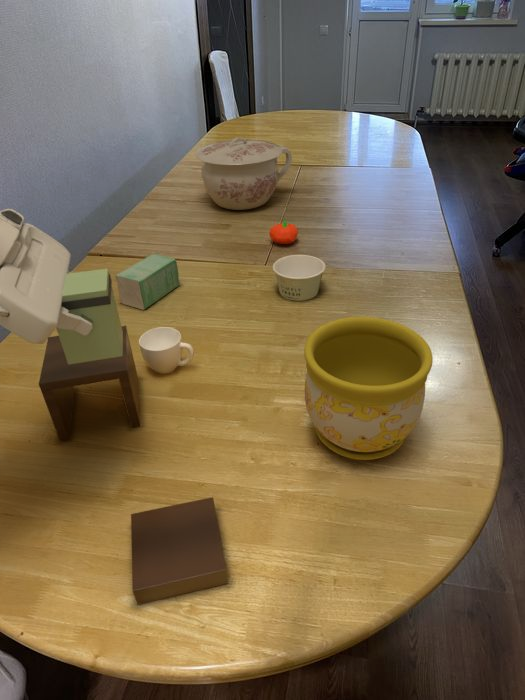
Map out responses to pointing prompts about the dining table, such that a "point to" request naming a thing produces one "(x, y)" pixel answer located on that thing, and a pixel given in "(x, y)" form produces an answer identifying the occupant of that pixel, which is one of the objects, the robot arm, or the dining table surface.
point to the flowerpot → (365, 384)
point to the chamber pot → (242, 172)
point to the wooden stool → (85, 382)
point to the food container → (299, 276)
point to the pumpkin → (283, 233)
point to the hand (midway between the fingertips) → (91, 313)
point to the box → (147, 281)
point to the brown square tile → (176, 551)
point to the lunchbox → (91, 317)
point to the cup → (164, 349)
